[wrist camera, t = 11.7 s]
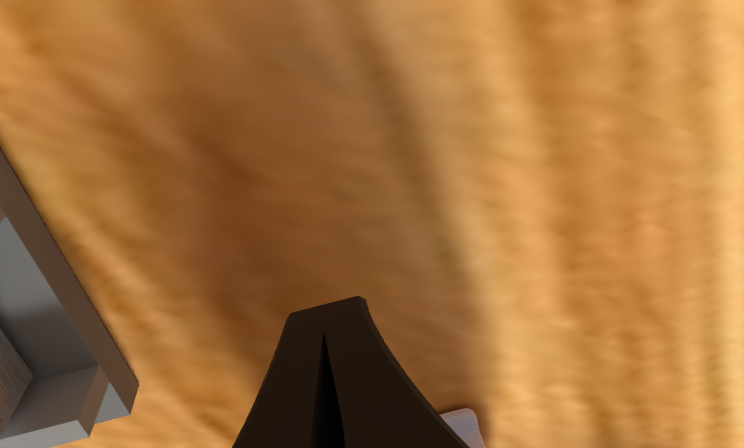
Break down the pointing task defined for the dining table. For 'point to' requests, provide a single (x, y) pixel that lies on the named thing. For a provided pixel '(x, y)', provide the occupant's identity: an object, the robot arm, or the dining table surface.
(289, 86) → the dining table surface
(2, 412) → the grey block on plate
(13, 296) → the gauge base
